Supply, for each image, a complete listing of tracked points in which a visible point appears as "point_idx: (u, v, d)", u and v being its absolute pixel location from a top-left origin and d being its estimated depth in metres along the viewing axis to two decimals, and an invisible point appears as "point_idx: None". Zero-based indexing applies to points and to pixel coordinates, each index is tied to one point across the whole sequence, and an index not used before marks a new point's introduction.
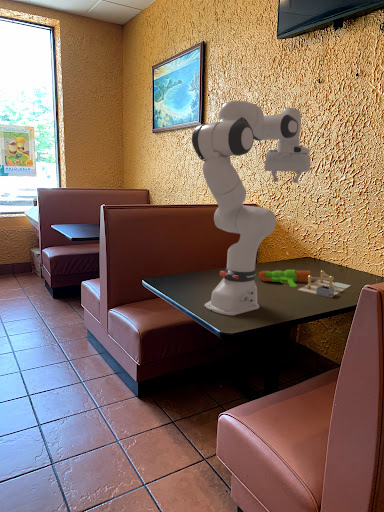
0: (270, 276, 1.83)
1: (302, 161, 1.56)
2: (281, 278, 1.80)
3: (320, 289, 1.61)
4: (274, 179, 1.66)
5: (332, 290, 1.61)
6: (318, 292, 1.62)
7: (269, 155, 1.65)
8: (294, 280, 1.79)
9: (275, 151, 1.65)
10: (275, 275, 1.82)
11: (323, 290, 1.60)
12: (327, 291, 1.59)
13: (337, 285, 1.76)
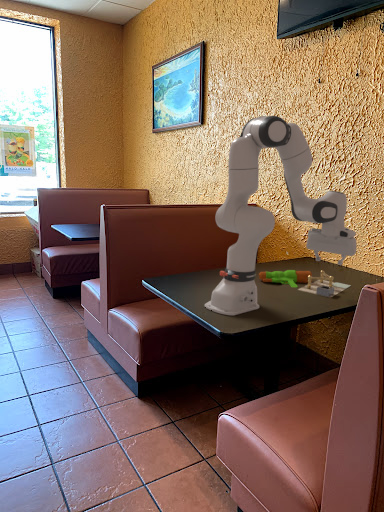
0: (270, 277, 1.82)
1: (348, 246, 1.52)
2: (281, 279, 1.79)
3: (320, 289, 1.61)
4: (317, 258, 1.62)
5: (332, 290, 1.61)
6: (318, 292, 1.62)
7: (312, 234, 1.61)
8: (294, 281, 1.79)
9: (318, 231, 1.61)
10: (275, 276, 1.81)
11: (323, 290, 1.60)
12: (327, 291, 1.59)
13: (337, 285, 1.76)
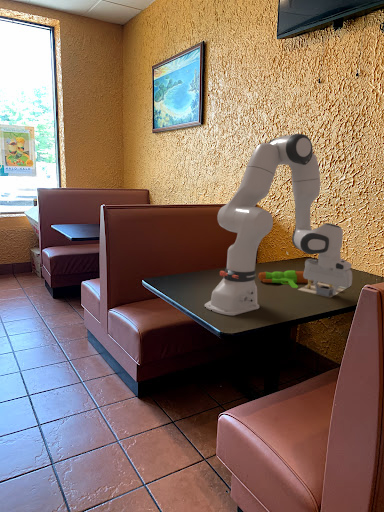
0: (270, 277, 1.81)
1: (344, 278, 1.55)
2: (281, 279, 1.78)
3: (320, 289, 1.61)
4: (316, 289, 1.64)
5: None
6: (318, 292, 1.62)
7: (308, 265, 1.64)
8: (294, 281, 1.78)
9: (315, 261, 1.64)
10: (275, 276, 1.80)
11: (323, 290, 1.60)
12: (327, 291, 1.59)
13: None
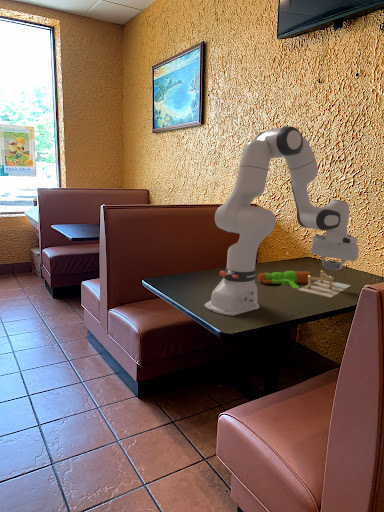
0: (270, 278, 1.79)
1: (350, 251, 1.61)
2: (282, 280, 1.77)
3: (327, 263, 1.68)
4: (323, 264, 1.71)
5: None
6: (325, 266, 1.69)
7: (316, 240, 1.71)
8: (295, 281, 1.77)
9: (322, 237, 1.70)
10: (275, 277, 1.79)
11: (330, 264, 1.67)
12: (334, 265, 1.66)
13: (337, 285, 1.76)
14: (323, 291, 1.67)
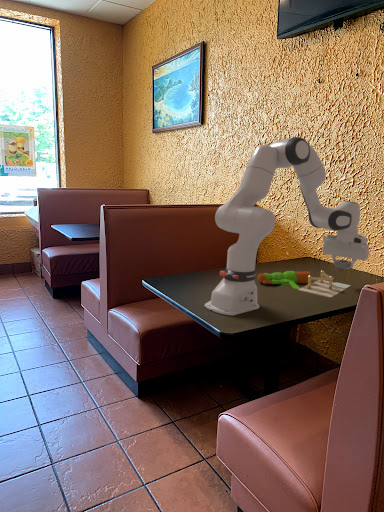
0: (270, 278, 1.79)
1: (361, 251, 1.67)
2: (282, 280, 1.76)
3: (338, 262, 1.73)
4: (334, 263, 1.76)
5: (350, 263, 1.73)
6: (336, 265, 1.74)
7: (327, 240, 1.76)
8: (295, 282, 1.77)
9: (333, 237, 1.75)
10: (275, 277, 1.78)
11: (341, 263, 1.72)
12: (345, 264, 1.71)
13: (337, 285, 1.76)
14: (323, 291, 1.67)
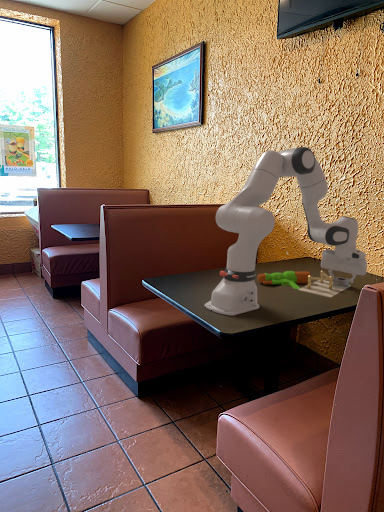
0: (270, 279, 1.78)
1: (359, 266, 1.68)
2: (282, 280, 1.76)
3: (336, 280, 1.75)
4: None
5: (347, 281, 1.75)
6: (334, 283, 1.76)
7: (326, 255, 1.77)
8: (294, 282, 1.77)
9: (331, 251, 1.77)
10: (275, 277, 1.77)
11: (339, 281, 1.74)
12: (343, 282, 1.73)
13: None
14: (323, 291, 1.67)
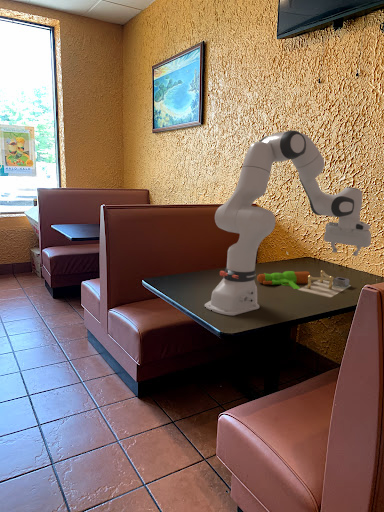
0: (270, 279, 1.78)
1: (363, 238, 1.65)
2: (281, 280, 1.76)
3: (336, 280, 1.75)
4: (333, 250, 1.76)
5: (347, 281, 1.75)
6: (334, 283, 1.76)
7: (329, 228, 1.75)
8: (294, 282, 1.77)
9: (335, 224, 1.74)
10: (275, 278, 1.77)
11: (339, 281, 1.74)
12: (343, 282, 1.73)
13: None
14: (323, 291, 1.67)
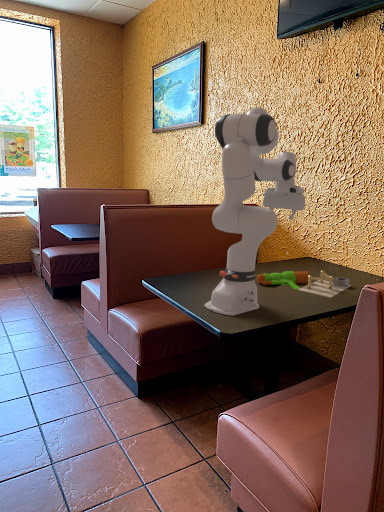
0: (269, 279, 1.78)
1: (297, 201, 1.70)
2: (281, 280, 1.76)
3: (336, 280, 1.75)
4: None
5: (347, 281, 1.75)
6: (334, 283, 1.76)
7: (267, 193, 1.79)
8: (294, 282, 1.76)
9: (272, 189, 1.78)
10: (274, 278, 1.77)
11: (339, 281, 1.74)
12: (343, 282, 1.73)
13: None
14: (323, 291, 1.67)
